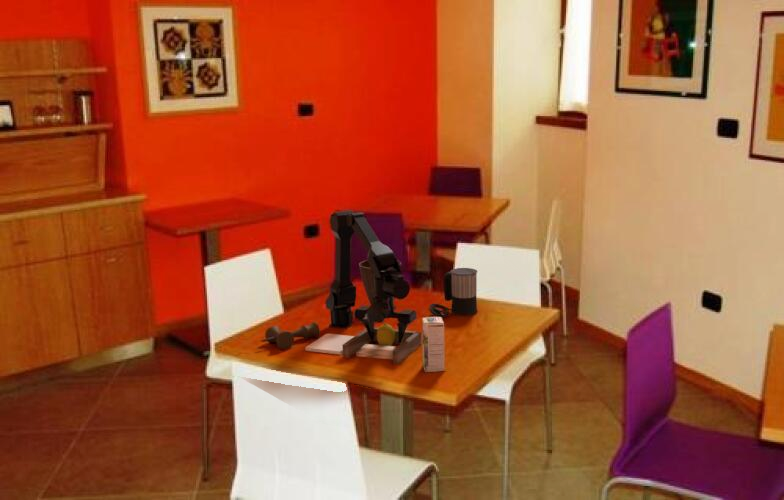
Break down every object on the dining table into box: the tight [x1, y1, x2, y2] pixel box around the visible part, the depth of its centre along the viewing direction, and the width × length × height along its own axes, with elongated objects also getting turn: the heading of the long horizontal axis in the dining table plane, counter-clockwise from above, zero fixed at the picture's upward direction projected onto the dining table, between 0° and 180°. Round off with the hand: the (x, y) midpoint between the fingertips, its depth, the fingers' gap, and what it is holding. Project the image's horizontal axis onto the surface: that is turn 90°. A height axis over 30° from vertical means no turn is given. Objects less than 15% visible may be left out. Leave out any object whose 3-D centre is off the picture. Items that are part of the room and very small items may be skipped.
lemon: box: [377, 322, 395, 346], centre depth 247 cm, size 6×6×8 cm
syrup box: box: [421, 316, 446, 373], centre depth 228 cm, size 6×6×14 cm
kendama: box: [260, 321, 321, 351], centre depth 256 cm, size 6×10×20 cm
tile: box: [304, 333, 355, 355], centre depth 253 cm, size 12×14×1 cm
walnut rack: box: [342, 326, 423, 365], centre depth 245 cm, size 18×18×4 cm
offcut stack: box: [355, 343, 398, 360], centre depth 242 cm, size 12×4×3 cm, turn 70°
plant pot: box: [358, 259, 402, 306], centre depth 290 cm, size 15×15×16 cm
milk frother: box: [428, 267, 478, 318], centre depth 278 cm, size 14×16×15 cm
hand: (386, 341), depth 248 cm, fingers open, 9 cm apart
